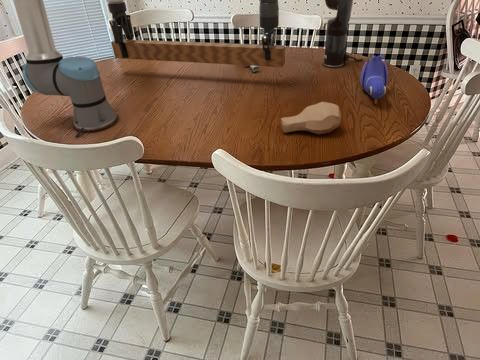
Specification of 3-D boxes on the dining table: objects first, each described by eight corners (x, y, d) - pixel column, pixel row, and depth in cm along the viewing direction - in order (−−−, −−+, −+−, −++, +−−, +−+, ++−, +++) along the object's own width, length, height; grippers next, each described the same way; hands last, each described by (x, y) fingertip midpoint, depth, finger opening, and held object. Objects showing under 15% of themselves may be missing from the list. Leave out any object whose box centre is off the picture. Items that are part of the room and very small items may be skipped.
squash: (345, 135, 116) (346, 113, 109) (284, 145, 118) (282, 124, 111) (337, 115, 123) (337, 93, 117) (280, 125, 125) (277, 104, 119)
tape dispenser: (256, 76, 167) (275, 61, 180) (255, 65, 164) (276, 50, 176) (225, 69, 175) (246, 55, 187) (224, 59, 171) (245, 45, 184)
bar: (115, 58, 170) (110, 41, 166) (120, 55, 174) (116, 39, 170) (282, 67, 147) (282, 48, 143) (284, 63, 151) (285, 45, 146)
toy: (357, 95, 150) (363, 108, 128) (360, 53, 144) (367, 59, 122) (382, 94, 148) (392, 108, 126) (386, 52, 142) (398, 58, 119)
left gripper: (111, 6, 149) (124, 62, 162) (134, -2, 162) (145, 50, 176) (96, 6, 151) (111, 61, 164) (120, -2, 164) (132, 50, 178)
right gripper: (273, 18, 132) (273, 64, 142) (282, 10, 143) (282, 53, 153) (254, 18, 134) (256, 63, 145) (264, 10, 145) (265, 52, 155)
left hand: (128, 55), depth 170 cm, fingers closed on bar, 5 cm apart
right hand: (269, 57), depth 149 cm, fingers closed on bar, 4 cm apart
